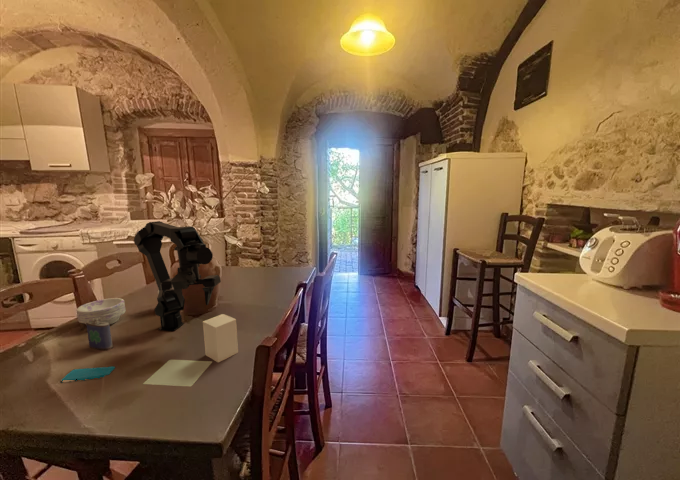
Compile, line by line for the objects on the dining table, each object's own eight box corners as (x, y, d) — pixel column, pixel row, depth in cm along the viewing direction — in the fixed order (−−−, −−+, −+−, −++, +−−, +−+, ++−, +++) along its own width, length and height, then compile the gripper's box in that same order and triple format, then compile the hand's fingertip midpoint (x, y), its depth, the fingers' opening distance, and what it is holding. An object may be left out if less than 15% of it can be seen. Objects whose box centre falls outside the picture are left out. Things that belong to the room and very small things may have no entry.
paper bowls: (100, 314, 130) (98, 296, 129) (135, 314, 129) (133, 297, 128) (68, 331, 115) (65, 311, 114) (107, 331, 114) (104, 312, 113)
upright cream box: (205, 356, 98) (202, 321, 96) (225, 346, 104) (223, 313, 101) (218, 363, 94) (215, 327, 92) (238, 353, 99) (236, 319, 97)
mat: (142, 385, 83) (142, 383, 83) (170, 360, 95) (169, 359, 95) (191, 387, 82) (191, 386, 82) (212, 362, 94) (212, 361, 94)
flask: (114, 347, 103) (110, 317, 102) (106, 351, 101) (101, 321, 99) (94, 343, 106) (90, 314, 104) (85, 347, 103) (81, 318, 101)
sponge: (104, 378, 85) (116, 364, 91) (58, 381, 84) (73, 367, 90) (105, 383, 86) (117, 368, 91) (59, 386, 85) (74, 371, 90)
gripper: (147, 270, 97) (154, 316, 99) (204, 266, 97) (210, 312, 99) (166, 262, 108) (173, 304, 110) (218, 259, 108) (223, 301, 110)
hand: (194, 305), depth 107 cm, fingers open, 9 cm apart
